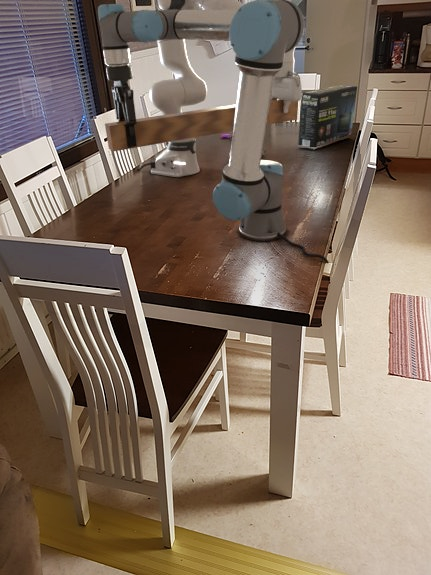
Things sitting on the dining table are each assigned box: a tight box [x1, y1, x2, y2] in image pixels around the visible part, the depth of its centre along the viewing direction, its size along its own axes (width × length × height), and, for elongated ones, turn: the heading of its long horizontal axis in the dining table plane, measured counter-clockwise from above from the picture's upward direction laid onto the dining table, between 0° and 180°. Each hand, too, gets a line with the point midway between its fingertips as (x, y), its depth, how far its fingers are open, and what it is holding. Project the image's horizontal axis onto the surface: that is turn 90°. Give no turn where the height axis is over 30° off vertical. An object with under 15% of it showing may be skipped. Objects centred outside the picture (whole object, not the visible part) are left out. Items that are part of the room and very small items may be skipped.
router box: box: [297, 84, 358, 151], centre depth 238 cm, size 36×11×27 cm, turn 134°
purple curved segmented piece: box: [220, 133, 233, 139], centre depth 256 cm, size 21×8×2 cm, turn 11°
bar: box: [104, 99, 299, 153], centre depth 159 cm, size 73×4×8 cm, turn 120°
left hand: (279, 111), depth 171 cm, fingers closed on bar, 4 cm apart
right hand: (129, 144), depth 148 cm, fingers closed on bar, 5 cm apart
